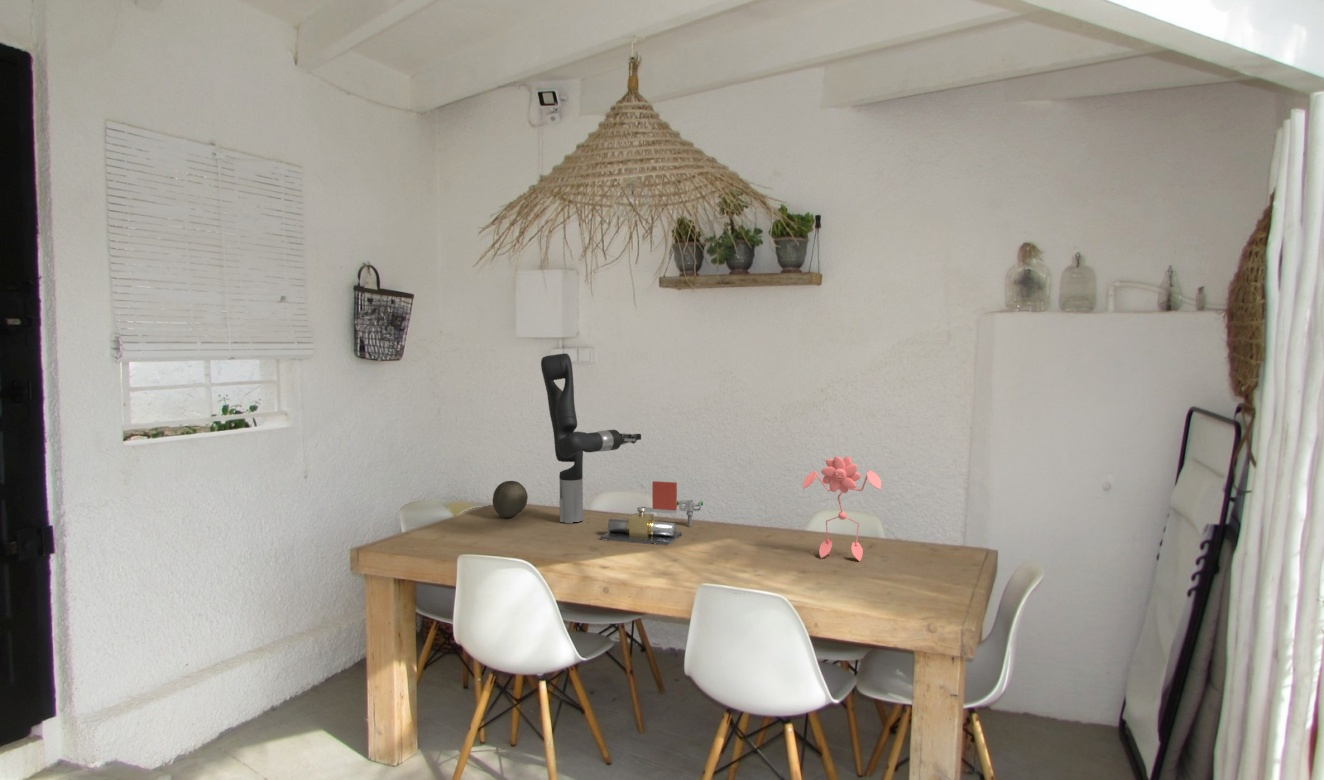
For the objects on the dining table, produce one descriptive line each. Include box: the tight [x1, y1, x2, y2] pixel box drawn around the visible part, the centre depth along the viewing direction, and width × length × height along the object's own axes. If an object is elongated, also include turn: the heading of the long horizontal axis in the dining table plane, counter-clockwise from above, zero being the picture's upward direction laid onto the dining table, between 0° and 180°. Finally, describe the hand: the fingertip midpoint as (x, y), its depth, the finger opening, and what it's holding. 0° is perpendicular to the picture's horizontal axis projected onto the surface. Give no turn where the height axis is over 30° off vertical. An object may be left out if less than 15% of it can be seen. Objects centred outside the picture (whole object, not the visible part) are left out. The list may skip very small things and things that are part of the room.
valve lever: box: [636, 480, 678, 515], centre depth 303 cm, size 3×15×11 cm, turn 70°
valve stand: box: [600, 512, 683, 546], centre depth 306 cm, size 26×16×10 cm, turn 71°
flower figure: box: [802, 455, 882, 562], centre depth 271 cm, size 15×26×35 cm, turn 68°
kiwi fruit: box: [492, 480, 529, 519], centre depth 340 cm, size 14×14×15 cm
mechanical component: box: [677, 499, 704, 527], centre depth 324 cm, size 3×10×10 cm, turn 89°
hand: (639, 436), depth 316 cm, fingers closed
